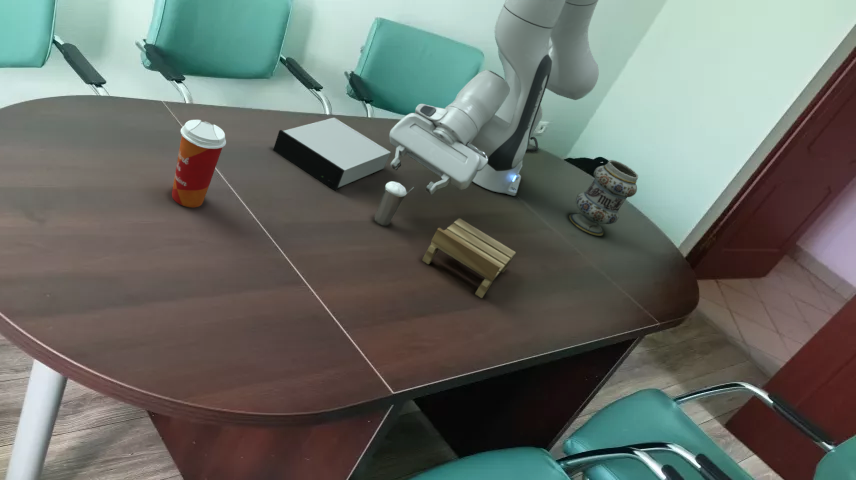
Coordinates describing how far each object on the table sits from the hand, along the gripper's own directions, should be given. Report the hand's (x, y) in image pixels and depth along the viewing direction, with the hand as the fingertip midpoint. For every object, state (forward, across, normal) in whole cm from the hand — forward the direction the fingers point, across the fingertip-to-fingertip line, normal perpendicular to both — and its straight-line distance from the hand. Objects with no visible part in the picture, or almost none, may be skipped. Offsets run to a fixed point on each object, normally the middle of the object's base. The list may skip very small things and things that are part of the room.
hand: (410, 179), depth 138 cm
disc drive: (+3, +22, -11) cm, 25 cm away
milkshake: (+10, 0, -4) cm, 11 cm away
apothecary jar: (-36, -28, -49) cm, 67 cm away
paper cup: (+35, +22, +20) cm, 46 cm away
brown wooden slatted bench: (+6, -18, -8) cm, 21 cm away
